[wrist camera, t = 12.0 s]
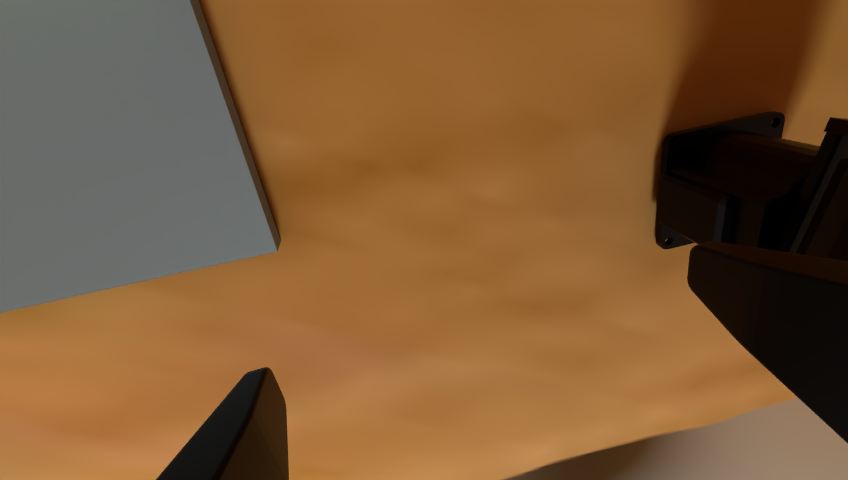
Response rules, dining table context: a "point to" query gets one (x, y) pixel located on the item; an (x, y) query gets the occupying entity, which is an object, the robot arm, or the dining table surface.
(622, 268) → the dining table surface
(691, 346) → the dining table surface
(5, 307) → the board
